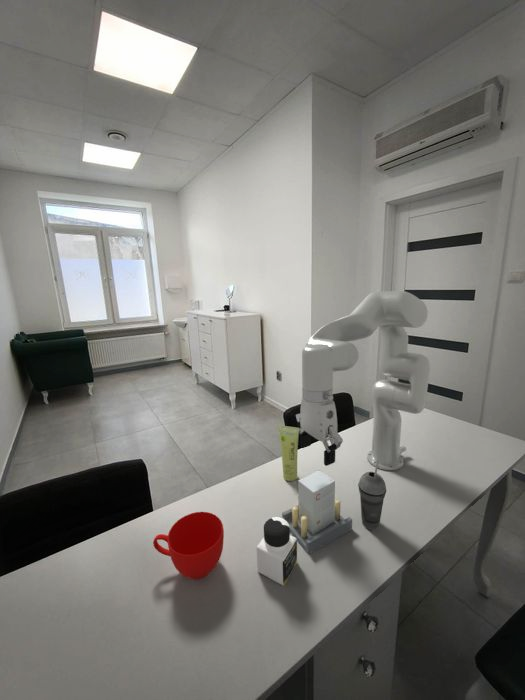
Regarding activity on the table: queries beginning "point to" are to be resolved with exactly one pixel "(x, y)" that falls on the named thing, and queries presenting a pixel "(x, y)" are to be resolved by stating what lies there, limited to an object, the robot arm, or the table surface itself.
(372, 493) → the beverage cup
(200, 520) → the ceramic cup
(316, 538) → the pin tray
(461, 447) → the table surface
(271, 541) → the medicine bottle
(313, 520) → the small box
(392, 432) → the robot arm
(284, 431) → the tube
